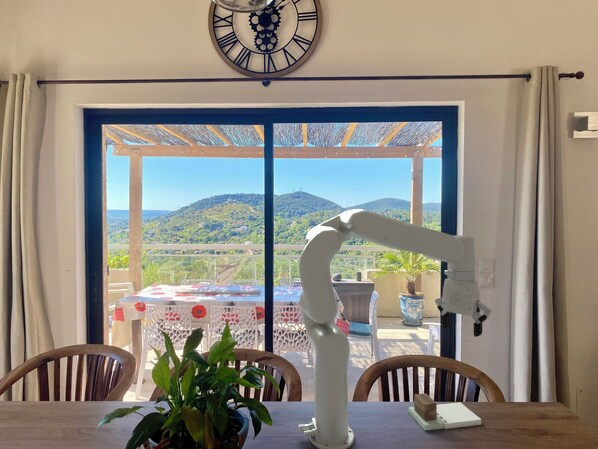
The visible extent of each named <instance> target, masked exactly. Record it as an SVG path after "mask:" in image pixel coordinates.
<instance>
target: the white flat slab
mask: <svg viewBox="0 0 598 449" xmlns="http://www.w3.org/2000/svg"><path fill="white" fill-rule="evenodd" d="M437 417H438V418H439V419H440V420H441V421H442V422H443V423H444V428H443V429H445V430H447V429H455V428H463V427H473V426H481V425H482V419H481V418H480V417H479V416H478V415H476V414H475V413H474V412H473V411H472V410H470V409H469V408H468V407H467V406H465V405H464V404H463V403H462V402H451V403H443V404H437Z"/></svg>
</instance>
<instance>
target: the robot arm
mask: <svg viewBox="0 0 598 449" xmlns="http://www.w3.org/2000/svg"><path fill="white" fill-rule="evenodd" d="M351 238H355V239H359V240H363V241H365V242H369V243H372V244H376V245H380V246H383V247H386V248H389V249H392V250H397V251H401V252H402V251H403V252H410V253H414V254H415V253H416V254H420V255H422V256H424V257H426V258H427V259H429V260H433V261H441V262H445V263H447V270H446V269H445V270H444V275H446V276H447V278H445V279H444V283H443V288H442V296H441V297H438V298H436V299H435V300H434V302H435V304H436V306H437V307H436V308H437V309H438V311H439V312H440V315H441V316H442V325H443V327H442V328H443V329H444V330H445V329H448V328H451V326H452V320H451V319H452V318H451V317H452V316H451V313H452V314H456V315H461V316H465V317H471V318H472V319H473V321H474V322H473V337H476V338H478V337H479V336H482V334H483V323H485V321H486V320H487V319H489V316H490V315H491V313H493V312H492V309H491V308H490V307H488V306H487V305H485V304H484V303H482V302H481V296H480V289H479V284H478V281H476V271H475V270H476V268H475V266H476V265H475V263H476V262H475V260H476V256H475V253H476V251H475V238H474V237H473V236H471V235H458V234H457V235H452V234H448V233H445V232H442V231H439V230H435V229H432V228H427V227H424V226H420V225H417V224H414V223H409V222H406V221H403V220H399V219H395V218H392V217H389V216H386V215H383V214H380V213H376V212H373V211H372V210H371V211H370V210H368V209H363V208H362V209H361V208H354V209H349V210H346V211H344V212H343V211H342V212H341V213H340V214H337V215H336V216H334V217H332V218H330V219H327V220H326V221H324V222H322V223H320V224H318V225H316V226H314V227H312V228H311V229H310V230H309V231H308V232H307V234H306V237H305V244H306V245H305V246H304V248H303V250H302V253H301V254H300V255H301V256H300V257H299V258H300V259H299V262H298V263H299V265H298V268H299V269H298V271H299V278H300V281H301V282H300V283H301V287H302V291H301V293H300V296H299V297H300V298H299V307H300V310H301V314H302V319H303V323H304V328H305V330H306V335H307V339H308V341H309V343H310V344H311V345H310V346H312V349H313V350H314V352H315V360H314V367H313V368H314V370H313V383H314V384H313V387H314V388H313V389H314V393H313V396H314V417H312V418H311V421H310V422H308V423H302V424H301V423H300V424H298V425H297V428H298V429H297V430H298V433H303V435H304V437H309V441H310V443H311V444H312V445H313V446H314V447H316V448H317V449H348V448H350V447H351V446H352V445H353V443H354V442H355V436H354V435H355V434H354V432H353V429H352V428H350V427H349V378H348V377H349V376H348V374H349V362H350V354H351V346H350V342H349V341H350V340H349V339H348V336H347V335H346V333H345V332H344V331H343V330H342V329H341V328H340V327H339V326H338V325H336V324H337V323H336V322H335V321H336V320H335V319H336V317H337V315H338V313H339V312H338V311H339V306H338V301H337V300H338V299H337V298H336V297H337V296H336V293H335V288H334V286H333V281H332V277H331V276H332V275H331V263H332V260H333V259H334V257H335V256H336V255H337V254H338V253H339V252H340V250H341V248H342V246H343V243H345V242H346V241H348V240H350V239H351ZM481 311H483V314H482V315H481Z"/></svg>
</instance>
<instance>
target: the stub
mask: <svg viewBox="0 0 598 449" xmlns="http://www.w3.org/2000/svg"><path fill="white" fill-rule="evenodd" d="M413 398H414V399H413V403H414V404H413V405H414V406H407V407H408V409H407V410H408V413H409V414H410V416H411V417H412V418H413V419H414V420H415V421H416V422H417V423H418V424H419V426H420V427H421V428H422V429H423V430H424V431H425V432H426V431H433V430H441V429H445V428H444V423H443V422H442V421H441V420H440V419H439V418H438V417H437V405H438V404H437V402H436V401H435V400H434V399H433V398H432V397H430V396H429V395H428V394H427V393H416V394H415V393H414V394H413Z"/></svg>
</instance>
